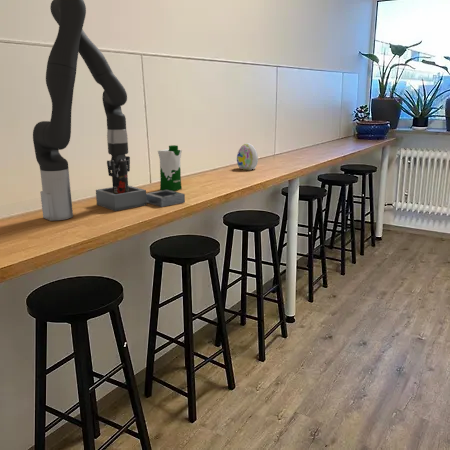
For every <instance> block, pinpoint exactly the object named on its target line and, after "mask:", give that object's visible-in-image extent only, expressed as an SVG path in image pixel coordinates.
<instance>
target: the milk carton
mask: <svg viewBox="0 0 450 450" xmlns="http://www.w3.org/2000/svg"><path fill="white" fill-rule="evenodd" d="M182 151H183V150H182V149H179V146H178V145H172V144H171V145H168V148H166V149H160V150H157V155H158V157H159V171H160V173H159V174H160V177H159V178H160V179H159V180H160V183H159V184H160V185H159V186H160V187H159V191H162V190H171V191H175V192H178V191H179V190H182V189H183V188H182V175H181V173H182V172H181V158H182Z"/></svg>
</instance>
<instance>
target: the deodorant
mask: <svg viewBox="0 0 450 450" xmlns="http://www.w3.org/2000/svg"><path fill="white" fill-rule="evenodd" d="M114 164H115V162H114ZM119 165H120V171H119V176H118V177H119V186H118V187H114V186H113V185H112V187H113V194H120V193H126V192H129V190H128V186H129V178H128V173H127V161H123V162H118V165H116V164H115V169H117V168H118V166H119ZM111 180H112V181H111V182H112V184H113V177H112V176H111Z"/></svg>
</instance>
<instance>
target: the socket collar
mask: <svg viewBox="0 0 450 450" xmlns="http://www.w3.org/2000/svg"><path fill="white" fill-rule="evenodd" d="M185 195H186V194H185V193H182V192H178V191H171V190H158V191H151V192H146V200H147V204H150V205H153V206H155V207H156V206H157V207H160V208H163V207H170V206H174V205H178V204H183V203H186V199H185V198H186V197H185Z"/></svg>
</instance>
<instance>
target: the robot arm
mask: <svg viewBox="0 0 450 450" xmlns="http://www.w3.org/2000/svg"><path fill="white" fill-rule="evenodd" d="M49 7H50V14H51V16H52V18H53V19H54V20H55V22H56V24H57V25H58V31H57V35H56V38H55V41H54V42H53V45H52V48H51V50H50V53H49V55H48V57H47V58H48V59H47V63H46V72H45V84H46V88H47V90H48V93H49V96H50V100H51V115H50V116H51V117H50V120H42V121H39V122H37V123H36V124H35V126H34V127H33V129H32V130H33V131H32V142H33V147H34V152H35V159H36V161H37V165H38V166H39V170H40V171H39V172H40V180H41V189H42V190H41V191H40V199H41V200H40V201H41V209H42V216H43V217H42V218H43V219H45V220H47V221H50V222H51V221H53V222H54V221H62V220H63V221H64V220H68V219H71V218H73V217H74V212H73V210H74V209H73V203H72V191H71V181H70V171H69V162H68V160H67V159H66V158H64V157H63V156H62V155H61V153H60V151H62V150H64V149H66V148H67V147H68V145H70V142H71V134H72V106H73V100H74V89H75V82H76V76H77V68H78V59H79V55H80V57H81V58H82V60H83V62H84V63H85V66H86V67H87V69H88V71H89V72H90V74H91V76H92V77H93V80H94V81H95V82H96V84H98V85H100V86H101V88H102V89H103V92H102V97H101V98H102V105H103V109H104V113H105V116H106V129H107V130H106V139H107V140H106V141H107V153H108V154H109V155H111V159H110V160H106V166H107V172H108V176H109V177H111V178H112V177H113V183H112V187H113V186H114V187H118V186H119V177H118V176H119V171H120V165H119V166H118V168H117V169H115V164H116V165H118V162H123V161H127V174H128V173H130V168H131V165H130V164H131V157H130V156H126V155H128V154H129V138H128V132H127V121H126V119H127V118H126V115H125V114H124V113H123V111H122V106H124V105H125V104H126V103H127V101H128V93H127V91H126V89H125V87H124V86H123V84H122V83H121V81H120V80H119V78H118V77H117V76H116V75H115V74H114V72H113V70H112V68H111V66H110V64H109V62H108V61H107V59H106V57H105V55H104V54H103V52H102V51H101V50H100V49H99V48H98V46H96V45H95V44H94V42H93V41H92V40H91V39H90V38H89V37H88V35H87V34H86V33H85V31H84V28H83V27H84V23H85V19H86V14H87V7H86V3H85V0H52V1H51V3H50V6H49ZM114 162H115V164H114Z"/></svg>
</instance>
